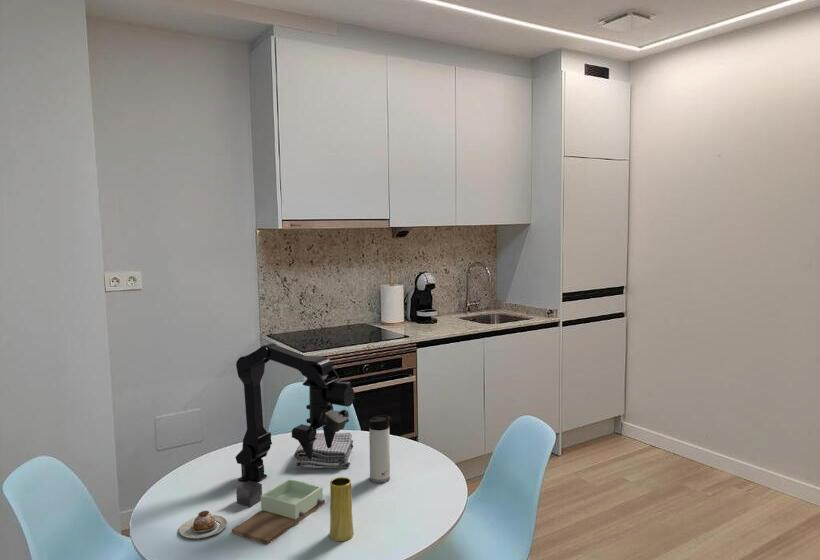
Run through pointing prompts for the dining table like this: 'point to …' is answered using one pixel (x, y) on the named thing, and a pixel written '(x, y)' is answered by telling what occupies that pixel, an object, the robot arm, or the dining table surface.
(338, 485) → the vase
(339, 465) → the towel
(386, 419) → the travel mug
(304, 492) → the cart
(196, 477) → the dining table surface
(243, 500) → the block
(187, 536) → the pastry
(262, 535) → the track
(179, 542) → the dining table surface
